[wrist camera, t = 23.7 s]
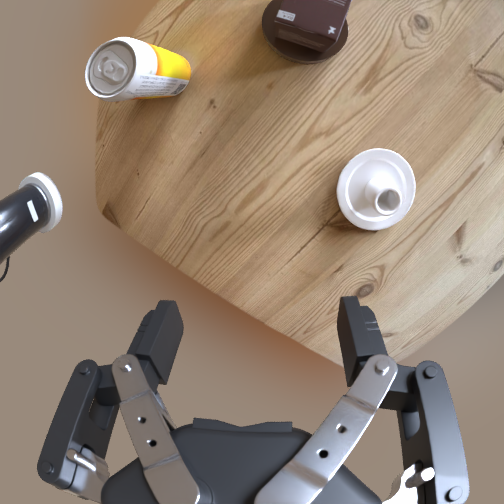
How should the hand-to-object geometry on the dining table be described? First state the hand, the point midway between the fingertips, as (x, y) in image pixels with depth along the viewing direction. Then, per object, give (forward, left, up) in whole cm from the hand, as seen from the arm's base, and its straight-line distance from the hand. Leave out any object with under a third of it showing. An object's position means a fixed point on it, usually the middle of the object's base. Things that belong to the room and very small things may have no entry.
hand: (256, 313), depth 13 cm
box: (+6, +19, -24) cm, 31 cm away
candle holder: (+15, -3, -26) cm, 30 cm away
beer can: (-11, +15, -26) cm, 32 cm away
